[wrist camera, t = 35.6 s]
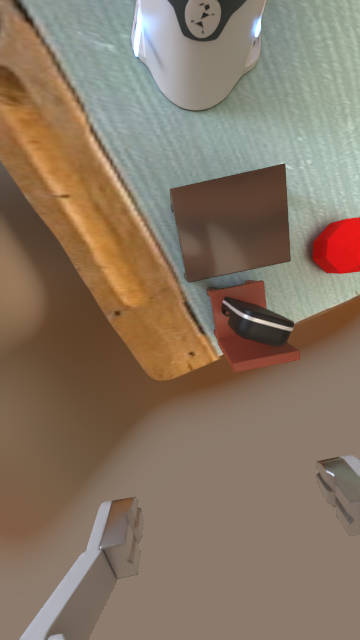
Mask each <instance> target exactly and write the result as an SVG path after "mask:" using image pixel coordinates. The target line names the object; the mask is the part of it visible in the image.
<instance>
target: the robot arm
mask: <svg viewBox="0 0 360 640" xmlns="http://www.w3.org/2000/svg"><path fill="white" fill-rule="evenodd" d="M266 2H267V0H137V1H136V7H135V14H134V21H133V27H132V34H131V42H132V49H133V51H134V53H135V56H137V57H138V58H139V59H140V60H141V61H142V62H143V63H144V64H145V65H146V66H147V67H148V68H149V70H150V72H151V74H152V76H153V78H154V80H155V82H156V84H157V86H158V87H159V89H160V90H161V92H162V93H163V94H164V95H165V96H166V97H167V98H168V99H169V100H170V101H171V102H173V103H174V104H176V105H177V106H179V107H182V108H184V109H188V110H204V109H208V108H211V107H213V106H215V105H217V104H218V103H220V102H221V101H222V100H223V99H224V98H225V97H226V96H227V95H228V94H229V93H230V92H231V91H232V89H233V88H234V86H235V85H236V83H237V81H238V80H239V79H240V78H241V76H243V75H244V74H246V73H247V72H249V71H250V70H251V69H253V68H254V67H255V66H256V64H257V63H258V60H259V57H260V53H261V31H260V29H261V18H262V15H263V12H264V8H265V5H266ZM141 32H142V34H141ZM316 468H317V470H318V471H319V473H318V474H317V483H318V485H319V488H320V490H321V492H322V494H323V496H324V497H325V499H326V501H327V502H328V503H329V504H331V505H332V506H333V507H335V508H336V516H337V518H338V519H339V521H340V522H341V523H342V525H343V527H344V528H345V530H346V531H347V533H348V534H349V536H356V535H360V461H359V460H358V459H357V458H356V457H355V456H353V455H347V456H343V457H336V458H331V459H326V460H322V461H317V463H316ZM142 536H143V514H142V511H141V509H140V508H139V507H138V500H137V498H136V497H131V498H125V499H120V500H114V501H109V502H103V503H102V504H101V506H100V508H99V511H98V514H97V517H96V521H95V524H94V527H93V530H92V533H91V536H90V540H89V543H88V546H87V549H86V552H85V553H82V554H81V555H80V557H79V558H78V559H77V561H76V562H75V564H74V565H73V566H72V568H71V569H70V570H69V572H68V573H67V574H66V576H65V577H64V579H63V580H62V581H61V583H60V584H59V586H58V587H57V588H56V590H55V591H54V592H53V594H52V595H51V597H50V598H49V599H48V601H47V602H46V604H45V605H44V606H43V607H42V609H41V610H40V612H39V613H38V614H37V616H36V617H35V619H34V620H33V621H32V623H31V624H30V625H29V627H28V628H27V630H26V631H25V632H24V634H23V635H22V636H21V638H20V639H19V640H88V639H89V638H90V635H91V633H92V631H93V629H94V627H95V625H96V623H97V621H98V619H99V617H100V615H101V613H102V611H103V609H104V607H105V605H106V603H107V600H108V599H109V597H110V595H111V592H112V591H113V589H114V586H115V584H116V582H117V580H116V579H121V578H125V577H130V576H134V575H138V569H139V561H140V552H141V551H140V548H139V546H138V544H139V542H140V540H141V538H142Z"/></svg>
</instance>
